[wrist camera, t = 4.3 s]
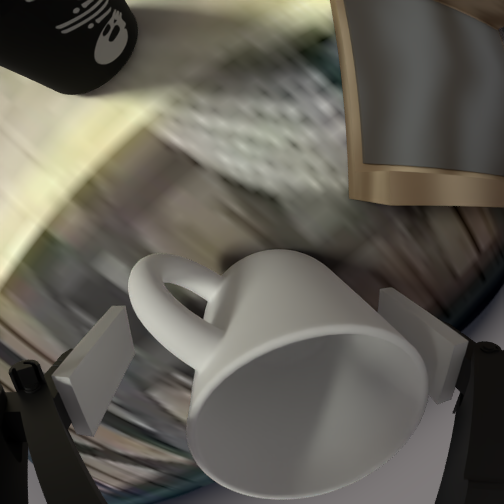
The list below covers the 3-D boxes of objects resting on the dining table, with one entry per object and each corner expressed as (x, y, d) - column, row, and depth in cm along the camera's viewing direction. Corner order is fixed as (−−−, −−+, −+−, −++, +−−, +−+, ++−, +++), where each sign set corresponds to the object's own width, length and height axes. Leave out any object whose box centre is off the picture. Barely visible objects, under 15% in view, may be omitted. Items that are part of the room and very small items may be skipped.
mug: (128, 294, 18) (47, 399, 8) (204, 177, 16) (167, 168, 6) (285, 388, 20) (320, 512, 10) (365, 294, 19) (464, 384, 9)
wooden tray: (348, 198, 17) (390, 205, 12) (322, -36, 13) (343, -77, 9) (514, 202, 18) (557, 210, 13) (486, 18, 14) (521, 2, 10)
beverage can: (105, 111, 15) (-40, 41, 3) (34, 83, 14) (-96, 34, 2) (161, 21, 14) (101, -118, 2) (84, 2, 13) (-1, -92, 1)
